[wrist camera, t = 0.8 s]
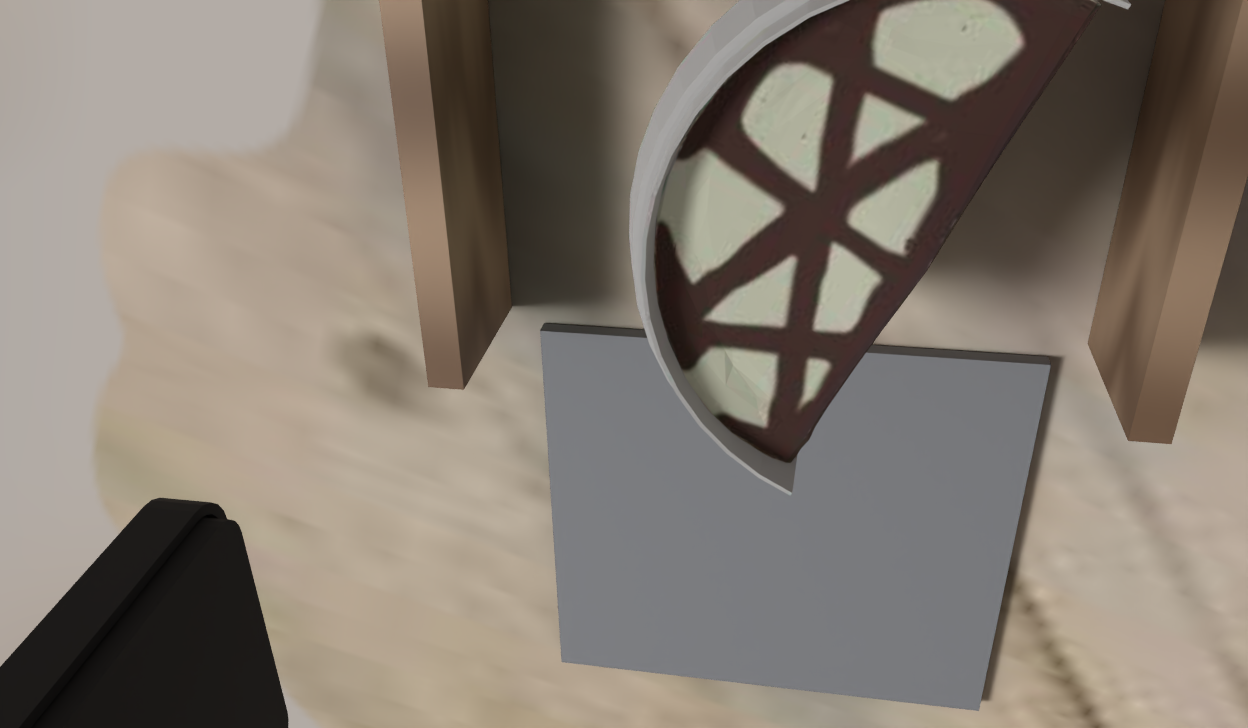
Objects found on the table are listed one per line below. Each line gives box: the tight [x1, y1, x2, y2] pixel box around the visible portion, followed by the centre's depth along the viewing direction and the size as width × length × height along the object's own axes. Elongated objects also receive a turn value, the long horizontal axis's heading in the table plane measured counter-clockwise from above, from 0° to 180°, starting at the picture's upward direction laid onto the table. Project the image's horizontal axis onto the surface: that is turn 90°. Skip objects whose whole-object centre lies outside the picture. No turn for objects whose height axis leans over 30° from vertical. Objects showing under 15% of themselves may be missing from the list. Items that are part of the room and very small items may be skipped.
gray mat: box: [540, 323, 1051, 711], centre depth 35 cm, size 14×15×1 cm
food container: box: [629, 0, 1131, 496], centre depth 24 cm, size 12×6×10 cm, turn 156°
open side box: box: [379, 0, 1248, 444], centre depth 26 cm, size 16×19×5 cm
